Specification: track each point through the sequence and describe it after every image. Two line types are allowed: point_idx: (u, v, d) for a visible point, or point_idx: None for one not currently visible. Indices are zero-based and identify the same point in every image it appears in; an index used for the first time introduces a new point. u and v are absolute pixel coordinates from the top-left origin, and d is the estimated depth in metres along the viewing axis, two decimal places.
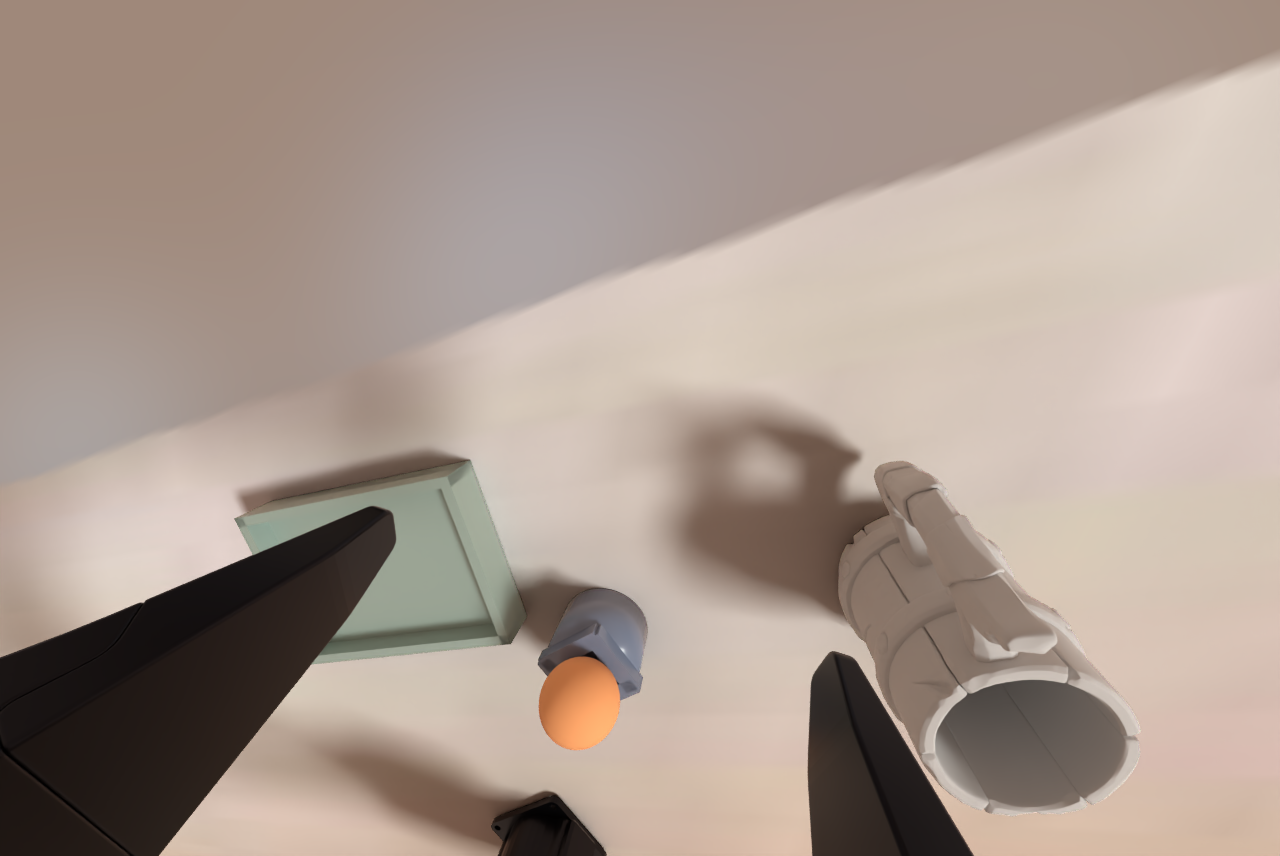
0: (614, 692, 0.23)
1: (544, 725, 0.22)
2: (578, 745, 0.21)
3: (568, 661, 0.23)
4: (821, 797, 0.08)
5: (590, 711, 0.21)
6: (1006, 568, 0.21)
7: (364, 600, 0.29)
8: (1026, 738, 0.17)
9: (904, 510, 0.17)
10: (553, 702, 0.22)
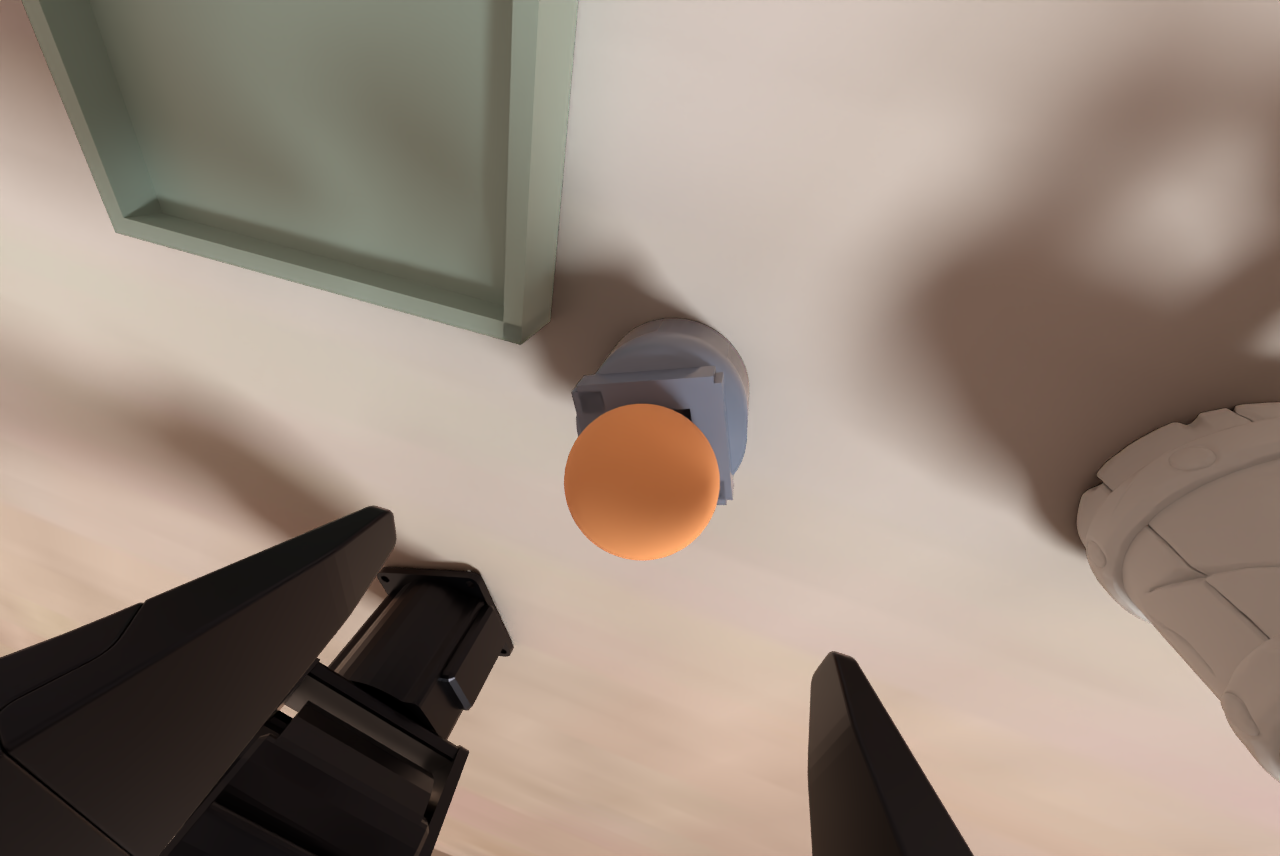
0: None
1: (579, 495, 0.11)
2: (632, 552, 0.11)
3: (652, 406, 0.12)
4: (821, 797, 0.08)
5: (686, 506, 0.10)
6: None
7: (249, 151, 0.14)
8: None
9: None
10: (618, 462, 0.10)
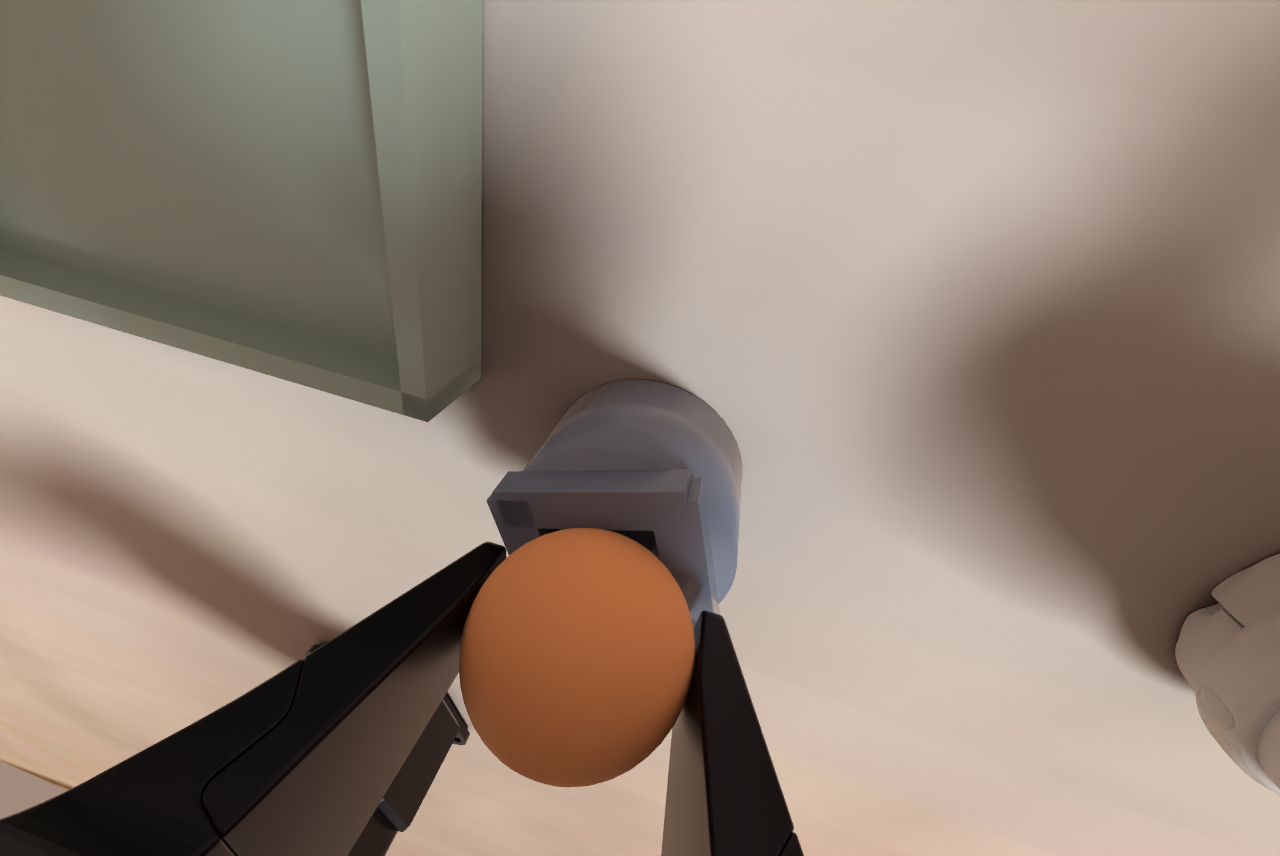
0: None
1: (469, 699, 0.07)
2: (555, 785, 0.07)
3: (592, 541, 0.08)
4: (676, 747, 0.08)
5: (635, 726, 0.07)
6: None
7: (55, 156, 0.11)
8: None
9: None
10: (526, 660, 0.06)
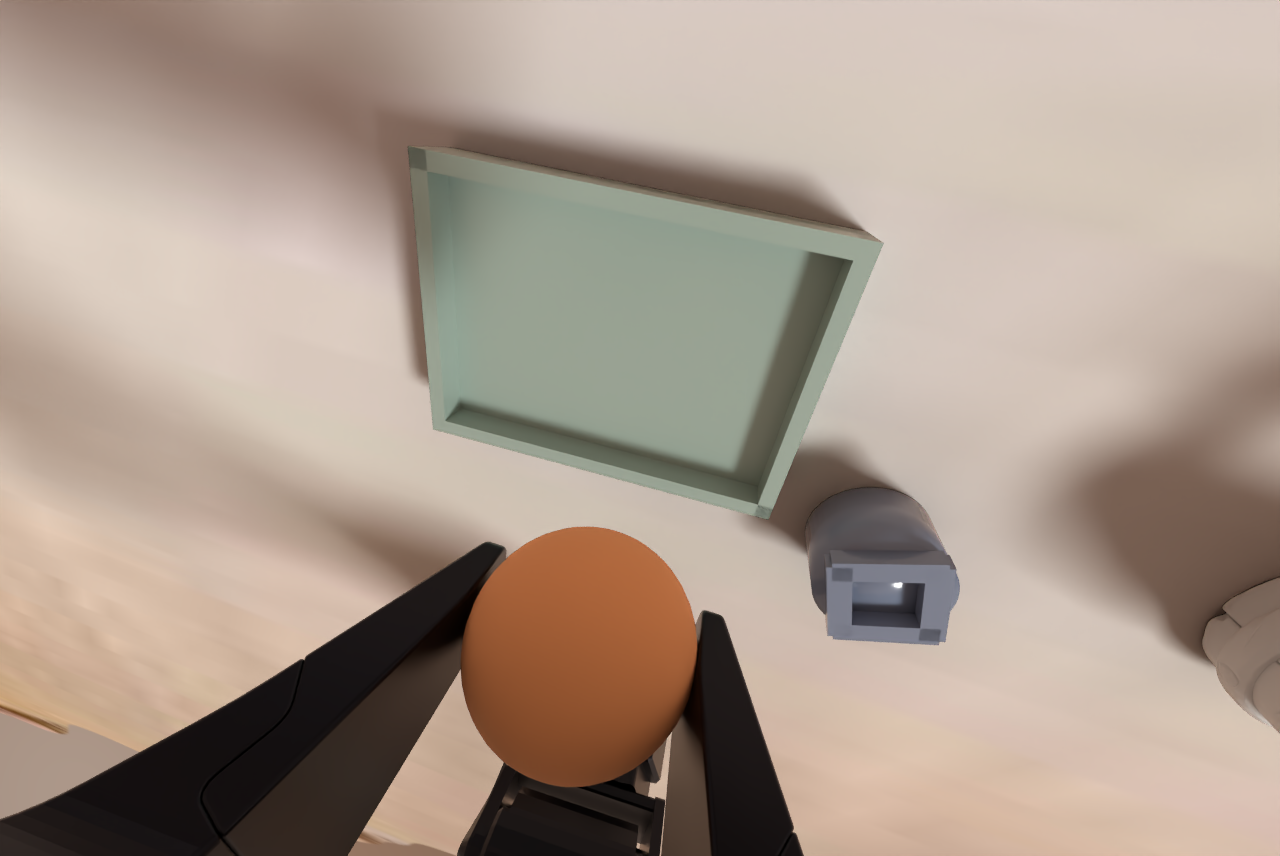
0: (695, 668, 0.08)
1: (471, 699, 0.07)
2: (557, 785, 0.07)
3: (594, 540, 0.08)
4: (676, 747, 0.08)
5: (638, 726, 0.06)
6: None
7: (554, 375, 0.19)
8: None
9: None
10: (526, 660, 0.06)
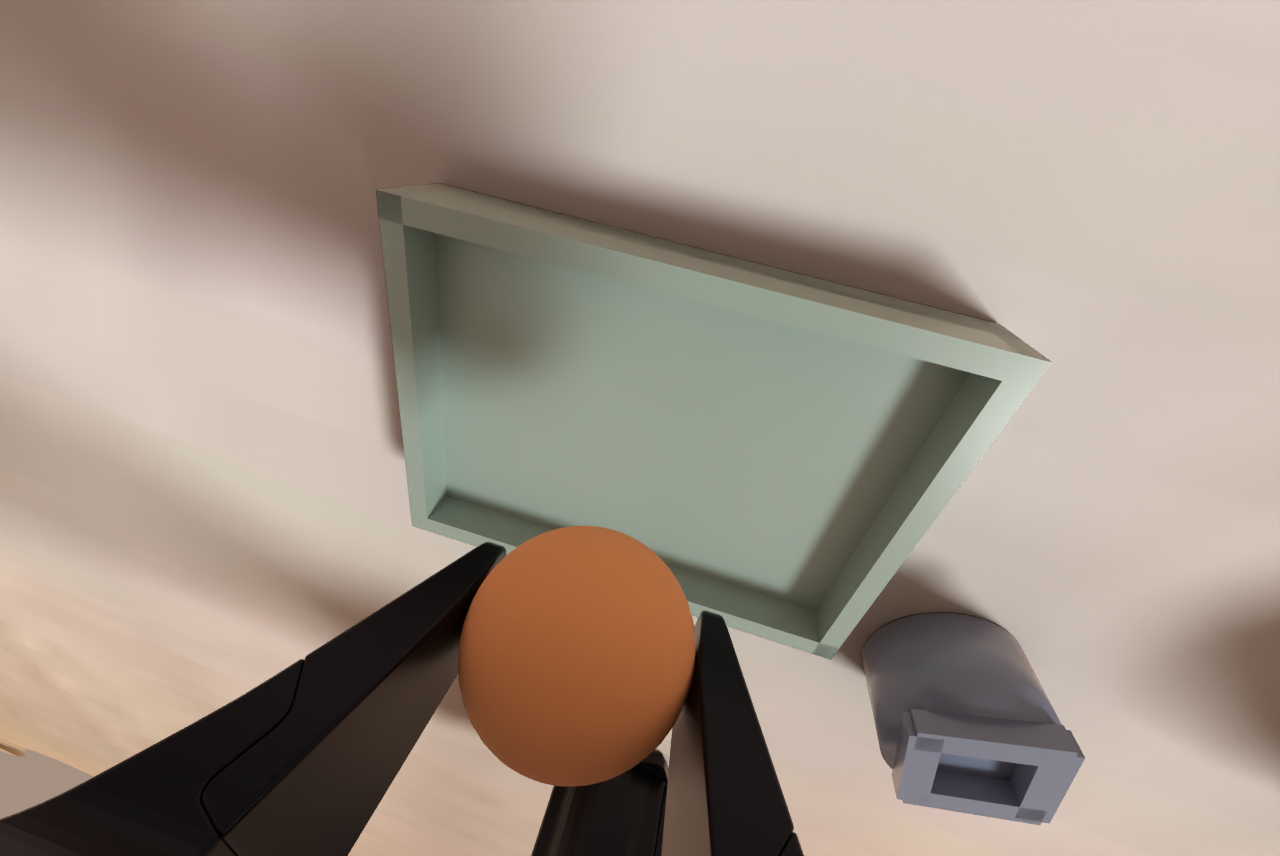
0: (693, 667, 0.08)
1: (469, 697, 0.07)
2: (555, 785, 0.07)
3: (592, 539, 0.08)
4: (676, 747, 0.08)
5: (636, 725, 0.06)
6: None
7: (567, 471, 0.15)
8: None
9: None
10: (524, 660, 0.06)
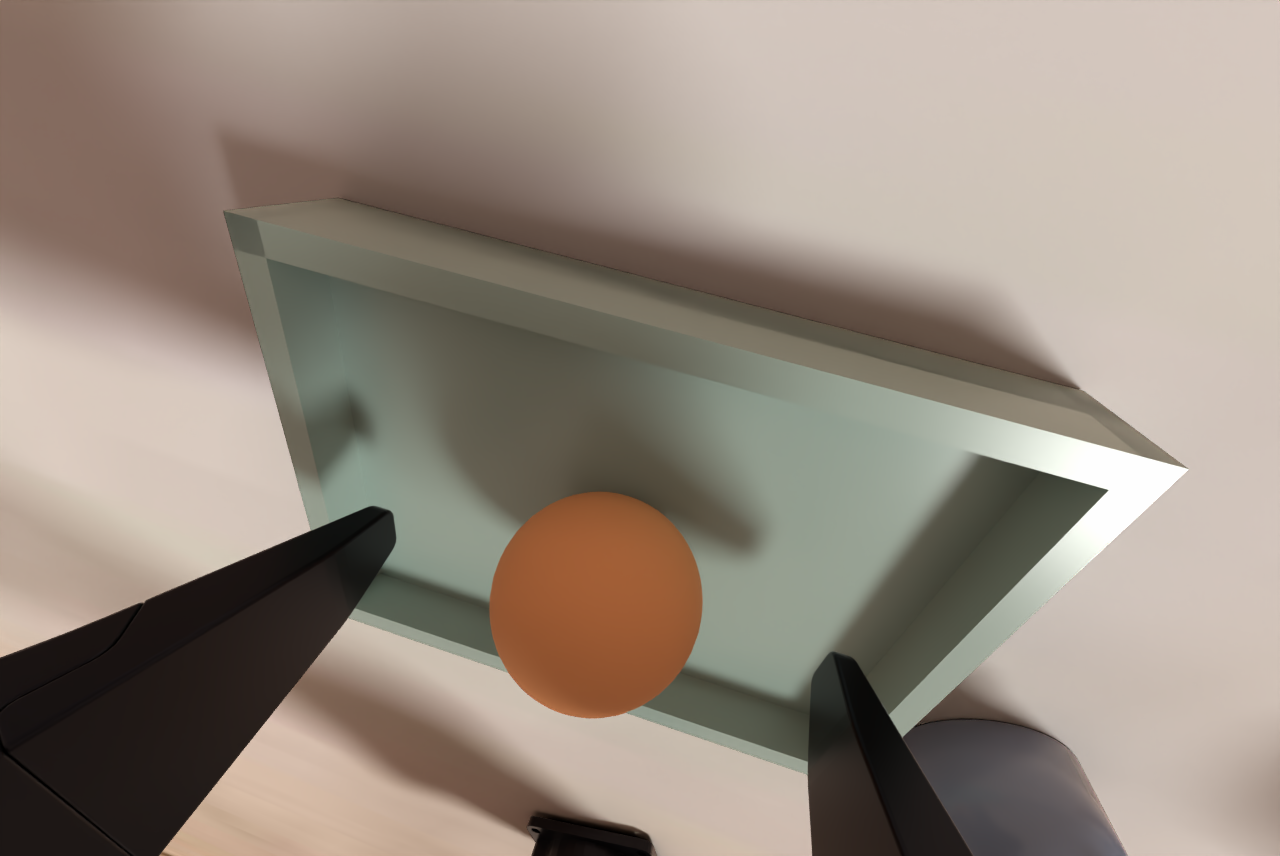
0: (701, 616, 0.09)
1: (502, 638, 0.08)
2: (579, 716, 0.08)
3: (609, 500, 0.08)
4: (821, 797, 0.08)
5: (651, 659, 0.07)
6: None
7: None
8: None
9: None
10: (553, 600, 0.07)
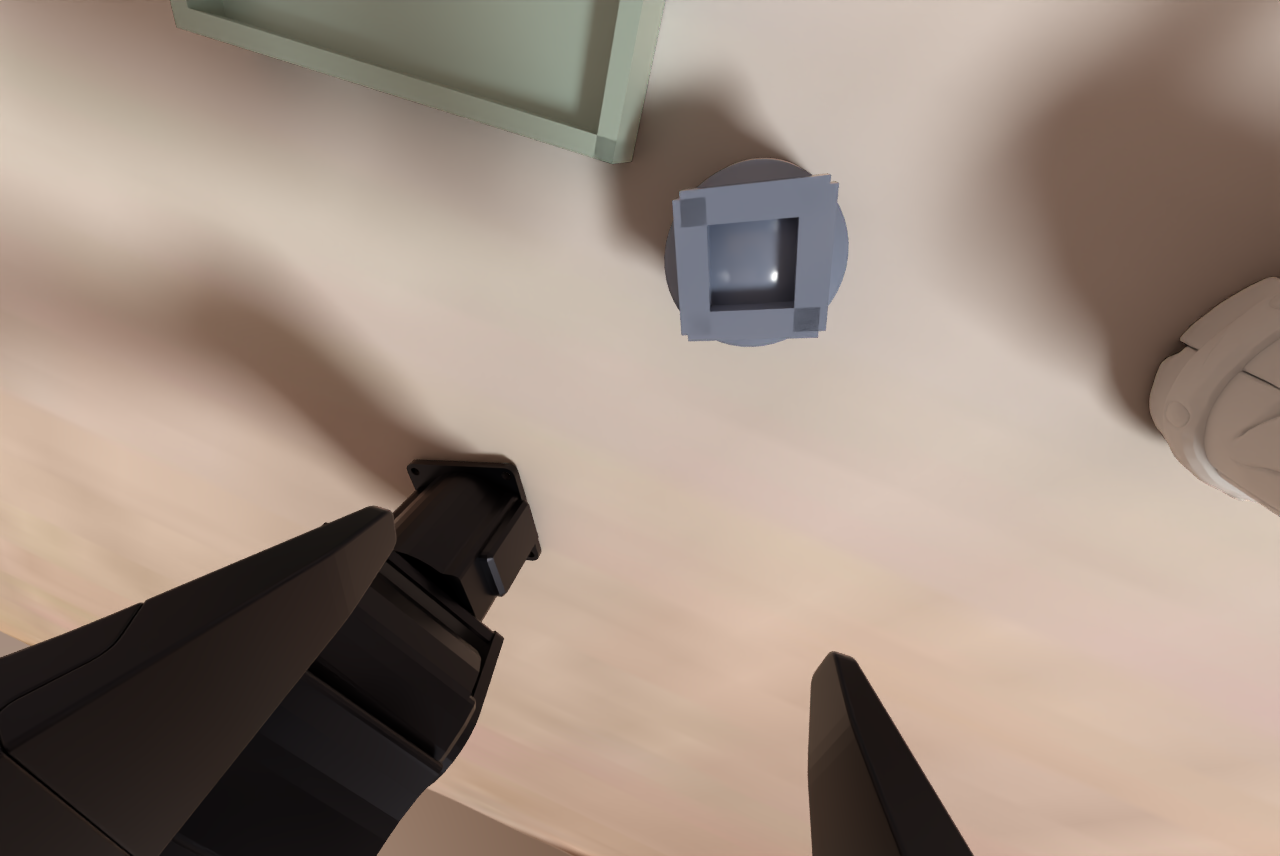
0: None
1: None
2: None
3: None
4: (821, 797, 0.08)
5: None
6: None
7: None
8: None
9: None
10: None
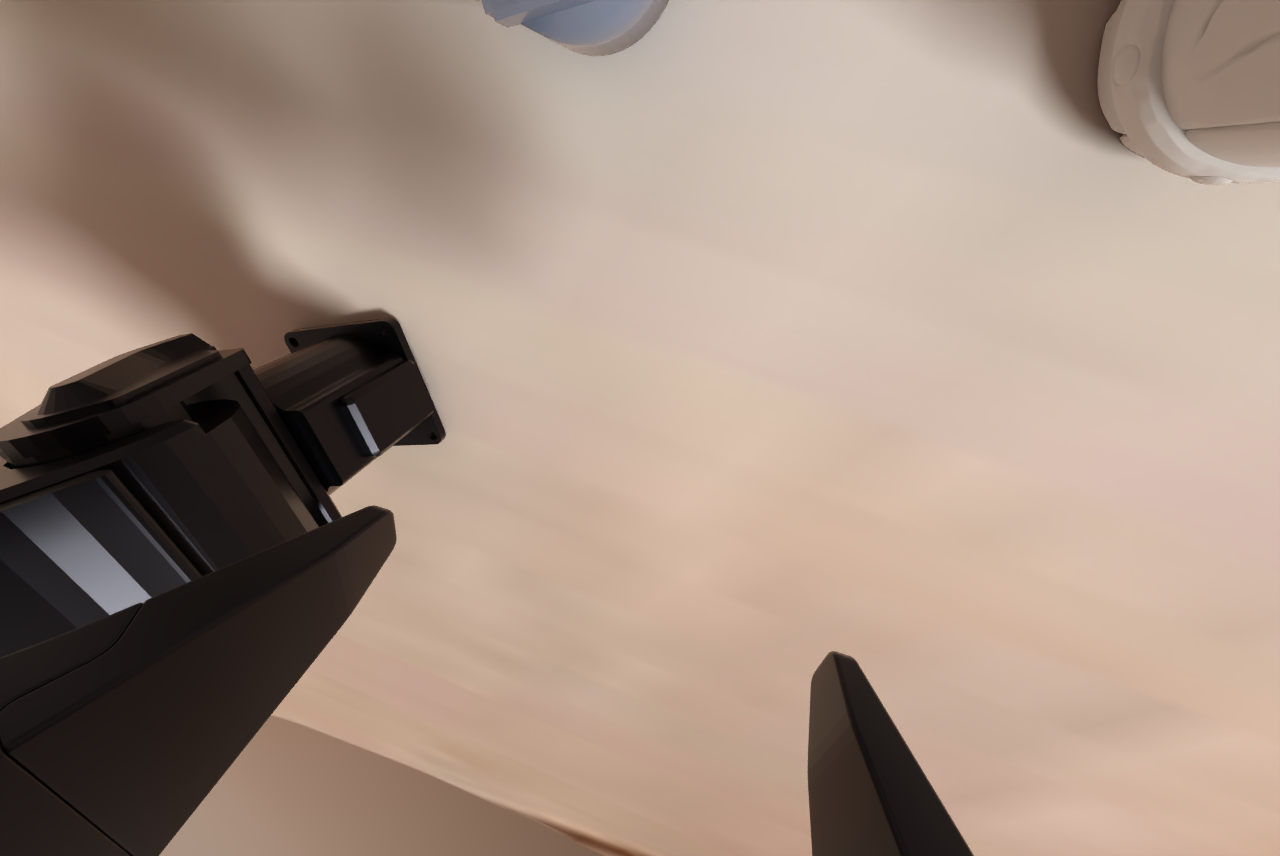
0: None
1: None
2: None
3: None
4: (821, 797, 0.08)
5: None
6: None
7: None
8: None
9: None
10: None
